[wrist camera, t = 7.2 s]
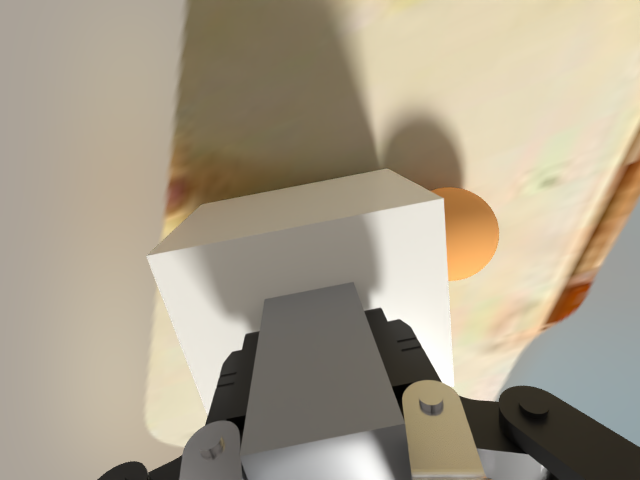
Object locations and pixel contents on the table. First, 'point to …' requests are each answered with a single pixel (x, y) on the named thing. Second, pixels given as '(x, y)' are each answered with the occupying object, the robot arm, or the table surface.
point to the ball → (467, 232)
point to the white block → (312, 315)
